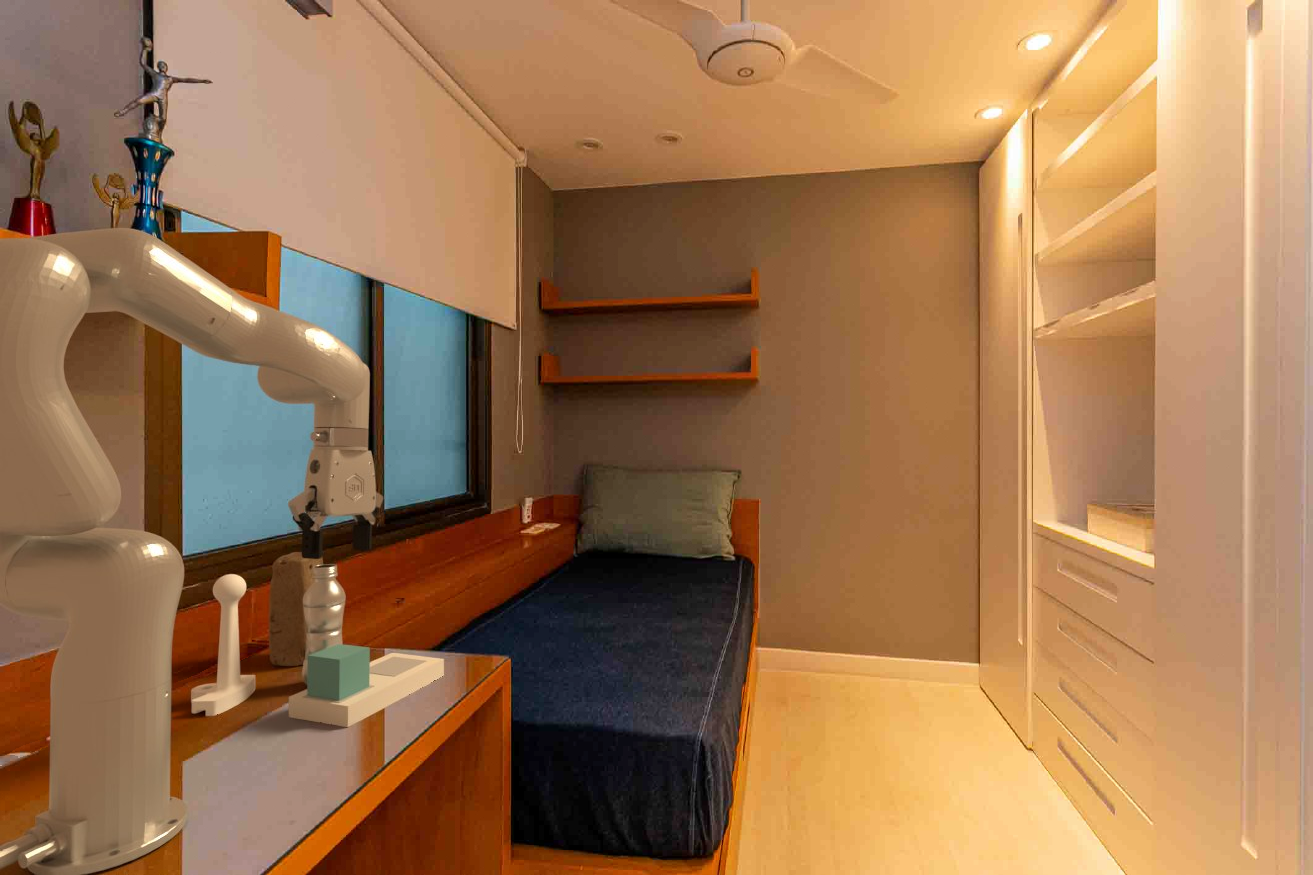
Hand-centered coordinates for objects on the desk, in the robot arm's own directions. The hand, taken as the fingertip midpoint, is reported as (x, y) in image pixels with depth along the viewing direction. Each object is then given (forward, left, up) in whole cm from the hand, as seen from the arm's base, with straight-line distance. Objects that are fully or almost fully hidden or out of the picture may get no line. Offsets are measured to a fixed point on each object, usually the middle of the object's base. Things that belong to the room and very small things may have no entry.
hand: (338, 553), depth 99 cm
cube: (+1, 0, -21) cm, 21 cm away
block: (+18, +26, -24) cm, 40 cm away
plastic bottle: (+9, +11, -24) cm, 28 cm away
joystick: (-2, +21, -24) cm, 32 cm away
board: (+8, 0, -24) cm, 25 cm away
